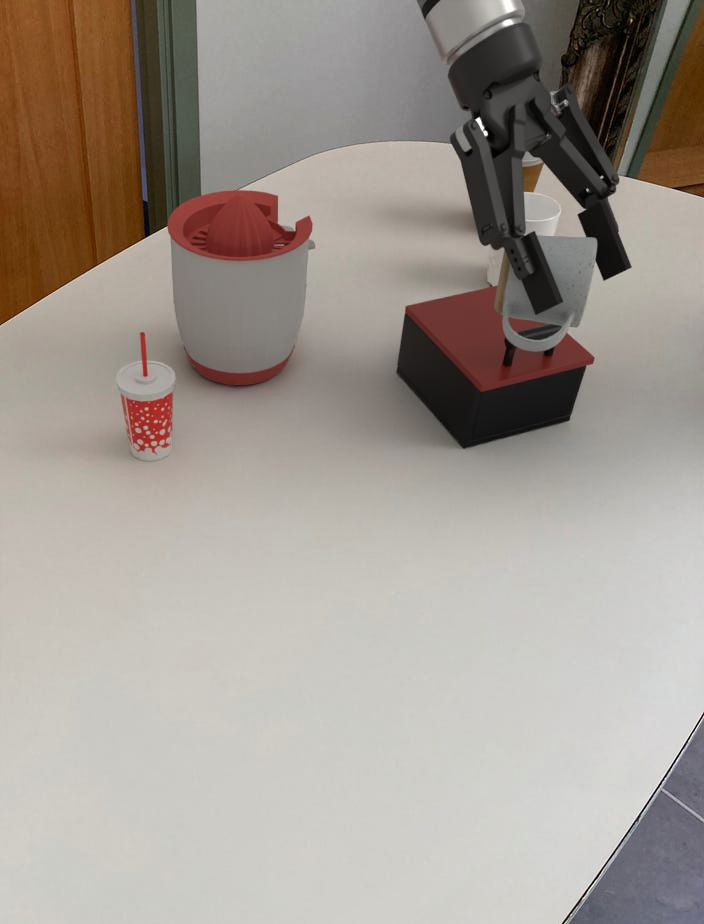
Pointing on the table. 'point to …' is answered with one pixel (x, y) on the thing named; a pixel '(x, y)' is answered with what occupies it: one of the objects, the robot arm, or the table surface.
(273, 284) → the citrus juicer
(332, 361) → the table surface
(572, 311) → the ceramic mug
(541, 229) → the white cup
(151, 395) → the beverage cup
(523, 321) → the box lid
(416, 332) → the black box
